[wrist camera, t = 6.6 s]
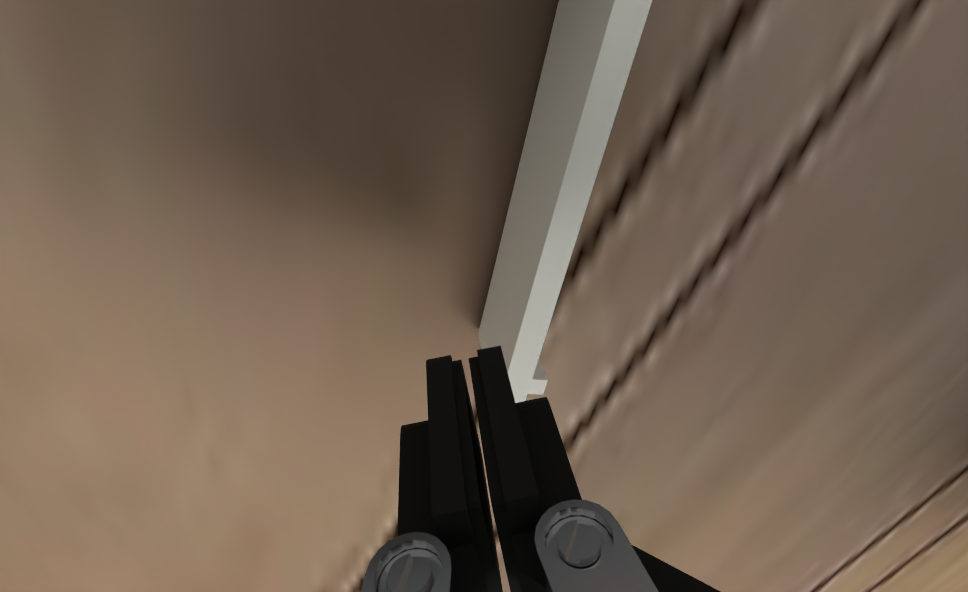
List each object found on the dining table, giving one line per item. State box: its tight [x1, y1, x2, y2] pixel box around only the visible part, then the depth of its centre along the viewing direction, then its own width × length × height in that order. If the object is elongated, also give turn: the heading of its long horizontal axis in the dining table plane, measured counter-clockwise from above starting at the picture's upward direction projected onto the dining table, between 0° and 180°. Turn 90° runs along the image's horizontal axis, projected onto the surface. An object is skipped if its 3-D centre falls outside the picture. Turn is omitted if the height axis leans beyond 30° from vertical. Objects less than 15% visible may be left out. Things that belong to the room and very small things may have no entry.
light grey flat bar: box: [478, 0, 652, 403], centre depth 14 cm, size 2×13×4 cm, turn 168°
